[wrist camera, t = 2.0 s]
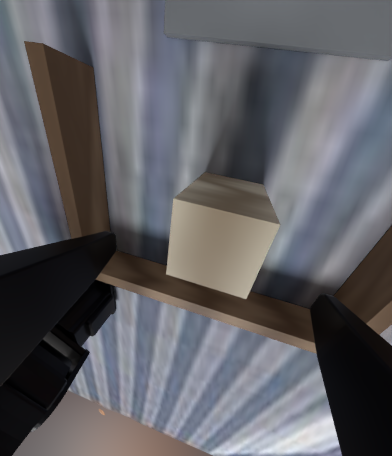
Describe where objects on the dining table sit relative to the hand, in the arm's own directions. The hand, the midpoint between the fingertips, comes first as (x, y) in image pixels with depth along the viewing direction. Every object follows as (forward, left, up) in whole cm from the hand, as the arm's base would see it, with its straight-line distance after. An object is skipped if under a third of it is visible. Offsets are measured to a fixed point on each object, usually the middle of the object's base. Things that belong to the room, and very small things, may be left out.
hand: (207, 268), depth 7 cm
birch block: (0, 0, -8) cm, 8 cm away
